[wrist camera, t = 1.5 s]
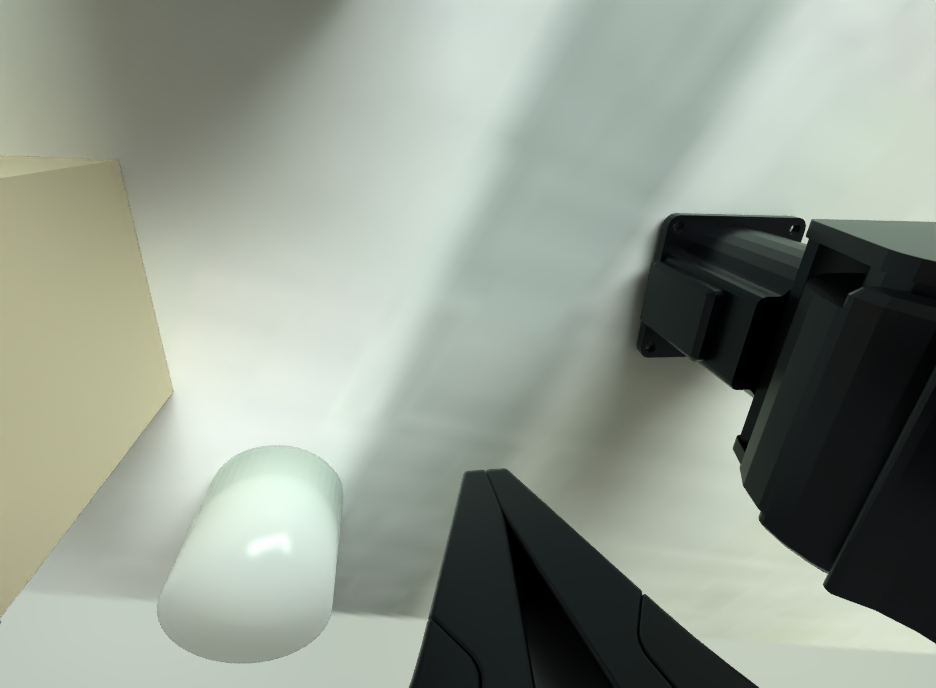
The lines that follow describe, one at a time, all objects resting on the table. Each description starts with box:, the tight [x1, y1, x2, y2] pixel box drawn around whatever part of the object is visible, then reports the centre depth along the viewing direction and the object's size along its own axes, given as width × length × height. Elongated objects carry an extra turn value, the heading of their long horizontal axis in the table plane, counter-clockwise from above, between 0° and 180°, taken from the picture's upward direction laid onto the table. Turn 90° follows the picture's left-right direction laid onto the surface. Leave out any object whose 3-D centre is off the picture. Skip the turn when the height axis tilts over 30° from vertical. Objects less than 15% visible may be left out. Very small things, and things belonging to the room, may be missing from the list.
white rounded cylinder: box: [157, 445, 343, 663], centre depth 20 cm, size 6×6×6 cm
